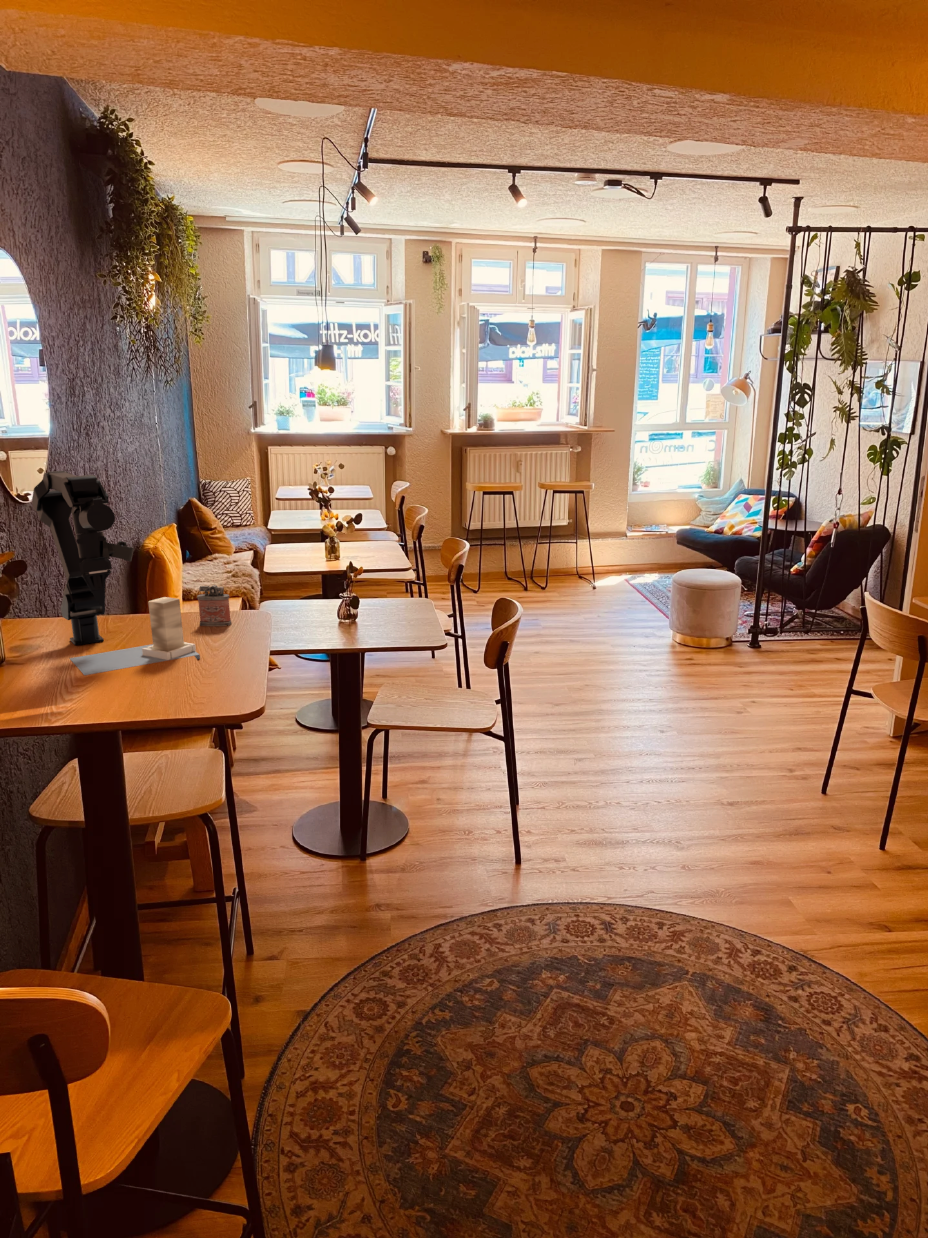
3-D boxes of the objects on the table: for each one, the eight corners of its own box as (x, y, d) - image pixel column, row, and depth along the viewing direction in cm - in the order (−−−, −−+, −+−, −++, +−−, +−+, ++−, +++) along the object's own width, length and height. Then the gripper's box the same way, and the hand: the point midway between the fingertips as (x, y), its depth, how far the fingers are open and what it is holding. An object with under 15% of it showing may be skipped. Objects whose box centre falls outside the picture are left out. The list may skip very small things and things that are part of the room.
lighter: (233, 622, 229) (230, 584, 226) (228, 626, 226) (225, 587, 223) (202, 622, 230) (199, 584, 227) (197, 626, 226) (193, 587, 224)
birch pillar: (154, 654, 199) (148, 601, 196) (170, 648, 203) (164, 596, 200) (168, 656, 197) (162, 603, 194) (184, 651, 201) (179, 598, 198)
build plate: (70, 662, 198) (69, 658, 197) (179, 643, 211) (178, 639, 210) (85, 679, 186) (84, 675, 185) (200, 658, 199) (199, 654, 198)
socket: (142, 655, 199) (141, 648, 198) (171, 646, 205) (170, 639, 205) (167, 660, 195) (167, 653, 194) (195, 650, 201) (195, 644, 201)
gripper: (130, 527, 193) (142, 599, 195) (126, 529, 210) (137, 595, 212) (73, 534, 189) (87, 607, 191) (74, 535, 206) (86, 603, 208)
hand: (101, 603), depth 200 cm, fingers open, 9 cm apart
